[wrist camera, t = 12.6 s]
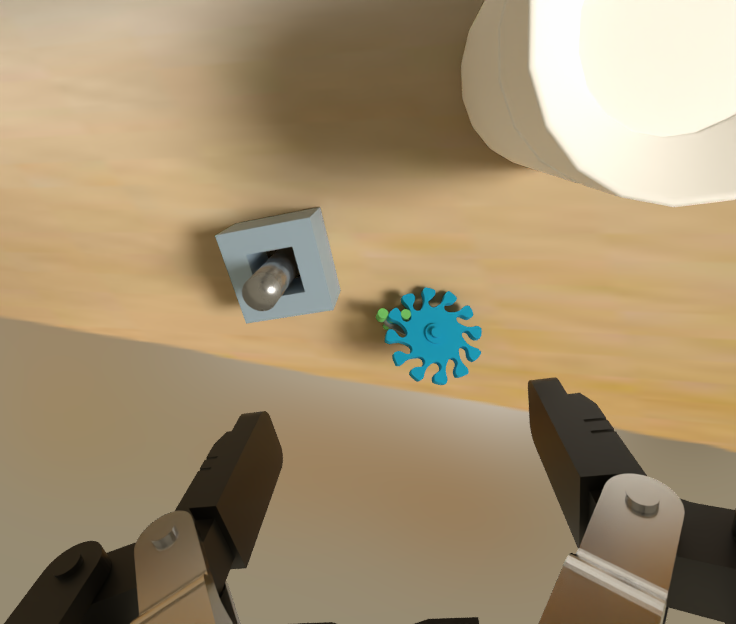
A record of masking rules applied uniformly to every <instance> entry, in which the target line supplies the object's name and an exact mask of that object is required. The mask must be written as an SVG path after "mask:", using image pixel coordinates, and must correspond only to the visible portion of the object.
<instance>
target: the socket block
mask: <svg viewBox="0 0 736 624" xmlns="http://www.w3.org/2000/svg"><path fill="white" fill-rule="evenodd" d="M215 237H216V240H217V243H218V246H219V248H220V251H221V254H222V257H223V260H224V262H225V265H226V268H227V271H228V274H229V276H230V279H231V282H232V285H233V288H234V290H235V293H236V296H237V299H238V302H239V304H240V307H241V310H242V313H243V316H244V318H245V321H246V323H252V322H259V321H265V320H272V319H278V318H284V317H291V316H297V315H304V314H310V313H317V312H323V311H330V310H334V307H335V304H336V302H337V299H338V296H339V294H340V291H341V290H340V286H339V282H338V278H337V274H336V270H335V266H334V262H333V258H332V254H331V249H330V245H329V241H328V237H327V233H326V229H325V225H324V221H323V217H322V212H321V208H320V207H318V208H313V209H308V210H302V211H297V212H292V213H287V214H282V215H277V216H272V217H267V218H261V219H256V220H251V221H246V222H241V223H236V224H234V225H232V226H230V227H229V228H227V229H225V230H224V231H222V232H220V233H218V234H217V235H215ZM287 247H293V251H294V254H295V258H296V262H297V265H298V269H299V272H300V276H301V277H298V278H294V279H293V280H292V282H291V283H290V285H289V286H288V287H287V289H286V290H285V292H284V293H283V295H282V296H281V297H280V299H279V300H278V302H277V303H276V304H275V306H274V307H273V308H272V309H270V310H267V311H257V310H254V309H252V308H251V307H249V306H248V305H247V304H246V303H245V301H244V299H243V297H242V288H243V285H244V284H245V282H246V281H247V280H248V279H249V278H250V277H251V276H252V275H253V274H254V273H255V272H256V271H257V270H258V269H259V268H260V267H261V266H262V265H263V264H264V263H265V262H266V261H267V260H268V256H267V253H266V251H270V250H276V249H281V248H287Z"/></svg>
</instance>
